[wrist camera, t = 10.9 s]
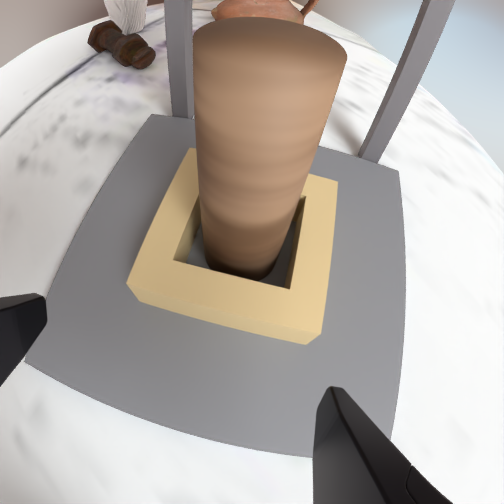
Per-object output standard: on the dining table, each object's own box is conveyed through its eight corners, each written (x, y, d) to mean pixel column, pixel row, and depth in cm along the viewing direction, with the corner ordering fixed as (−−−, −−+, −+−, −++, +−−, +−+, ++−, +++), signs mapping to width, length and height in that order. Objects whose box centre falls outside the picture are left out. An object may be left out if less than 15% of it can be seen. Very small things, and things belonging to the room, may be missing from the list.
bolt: (143, 84, 33) (102, 55, 37) (170, 57, 32) (123, 34, 36) (118, 61, 27) (81, 37, 31) (148, 31, 27) (104, 14, 31)
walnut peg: (288, 272, 20) (377, 75, 7) (215, 293, 18) (212, 79, 6) (263, 212, 21) (304, 18, 9) (196, 228, 20) (181, 21, 8)
